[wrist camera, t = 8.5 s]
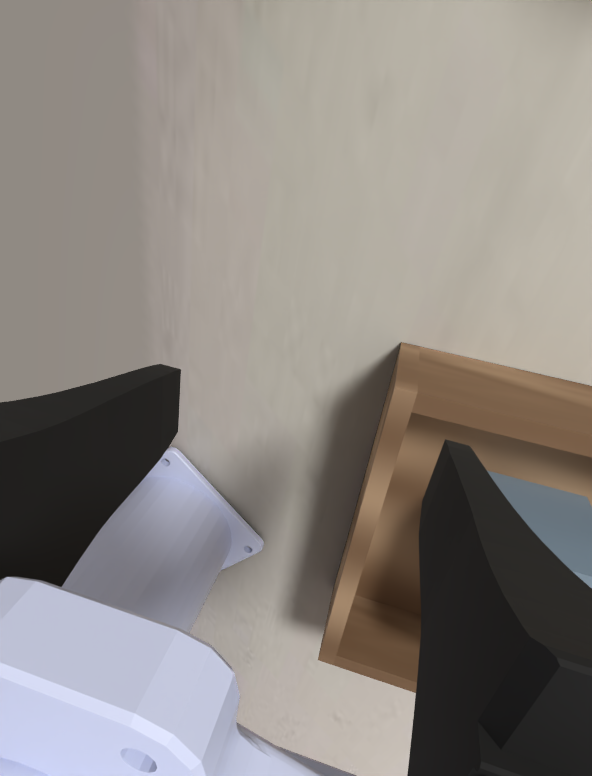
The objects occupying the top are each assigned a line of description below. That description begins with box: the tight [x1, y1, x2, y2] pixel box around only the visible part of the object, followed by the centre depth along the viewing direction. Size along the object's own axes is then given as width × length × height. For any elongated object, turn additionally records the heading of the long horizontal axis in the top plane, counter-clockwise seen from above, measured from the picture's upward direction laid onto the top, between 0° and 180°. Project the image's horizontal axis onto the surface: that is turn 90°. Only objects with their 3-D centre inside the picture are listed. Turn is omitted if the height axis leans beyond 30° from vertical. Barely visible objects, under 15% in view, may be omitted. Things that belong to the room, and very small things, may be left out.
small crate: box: [487, 471, 592, 588], centre depth 21 cm, size 7×5×5 cm
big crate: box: [318, 342, 592, 693], centre depth 22 cm, size 16×14×4 cm
